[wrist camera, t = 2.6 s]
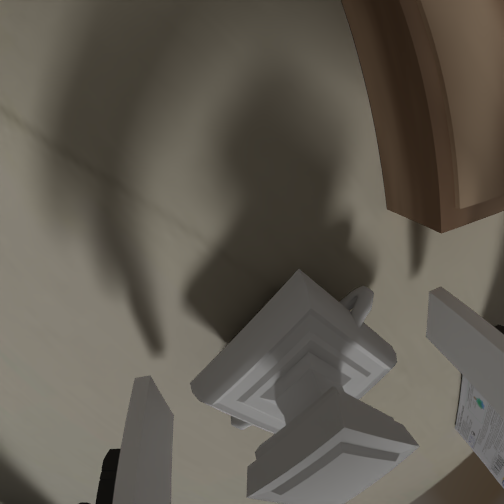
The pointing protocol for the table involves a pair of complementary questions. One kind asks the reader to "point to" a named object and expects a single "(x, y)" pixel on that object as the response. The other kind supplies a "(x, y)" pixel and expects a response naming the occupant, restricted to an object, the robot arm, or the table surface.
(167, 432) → the robot arm
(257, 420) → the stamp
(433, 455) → the table surface
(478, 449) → the ink cartridge box
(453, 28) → the plinth
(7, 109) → the table surface
